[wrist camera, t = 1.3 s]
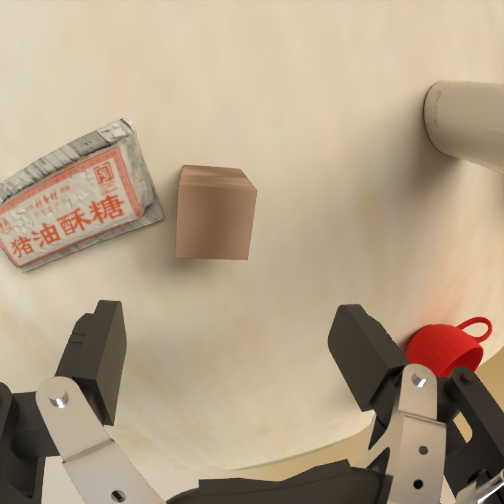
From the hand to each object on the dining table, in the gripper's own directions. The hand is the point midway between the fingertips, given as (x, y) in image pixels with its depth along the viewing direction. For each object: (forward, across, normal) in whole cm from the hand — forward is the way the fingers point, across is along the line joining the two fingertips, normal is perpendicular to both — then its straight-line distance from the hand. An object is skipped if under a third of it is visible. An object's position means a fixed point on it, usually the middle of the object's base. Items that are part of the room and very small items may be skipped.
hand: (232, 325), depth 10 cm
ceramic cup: (+18, -37, +19) cm, 45 cm away
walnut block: (+18, 0, 0) cm, 18 cm away
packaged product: (+19, +14, +1) cm, 23 cm away
